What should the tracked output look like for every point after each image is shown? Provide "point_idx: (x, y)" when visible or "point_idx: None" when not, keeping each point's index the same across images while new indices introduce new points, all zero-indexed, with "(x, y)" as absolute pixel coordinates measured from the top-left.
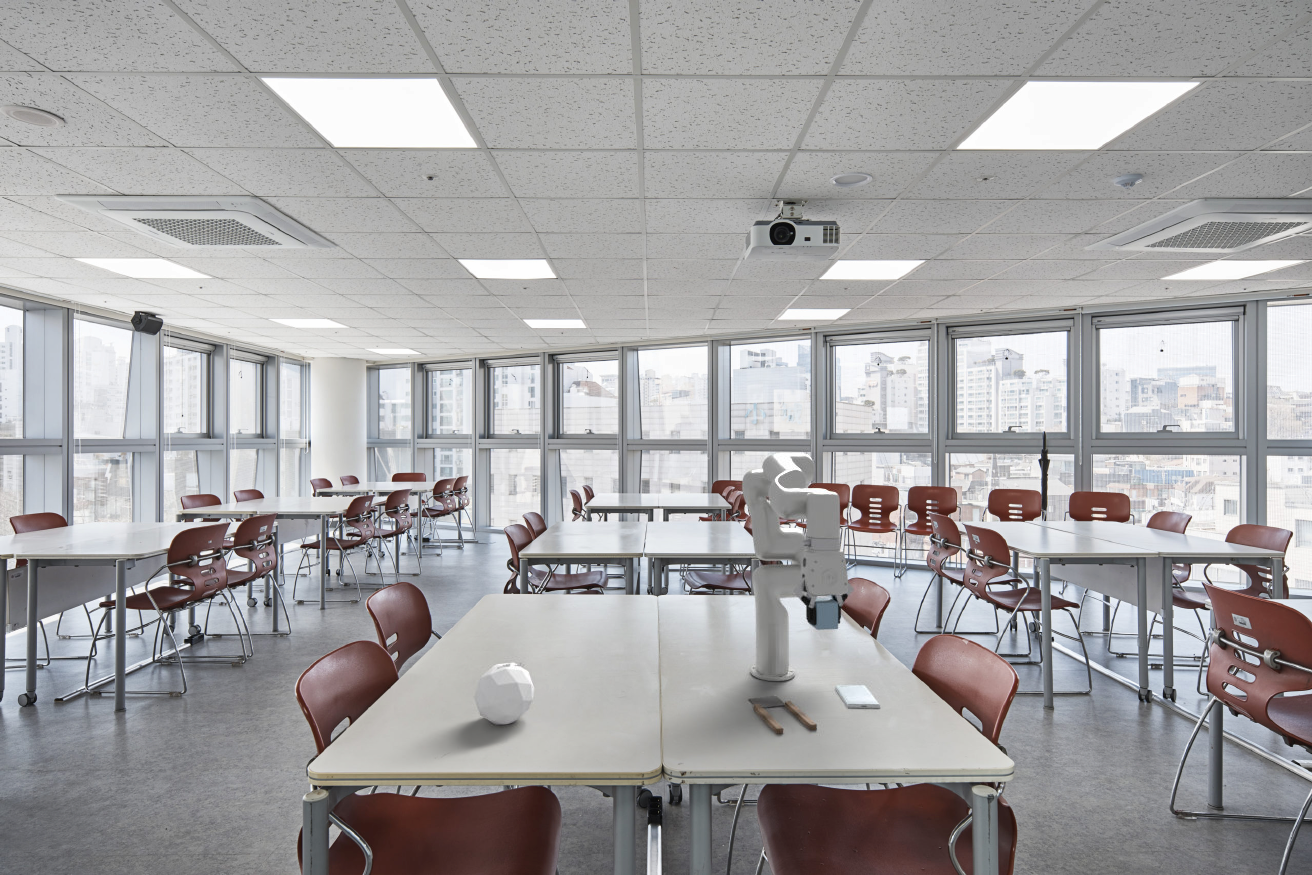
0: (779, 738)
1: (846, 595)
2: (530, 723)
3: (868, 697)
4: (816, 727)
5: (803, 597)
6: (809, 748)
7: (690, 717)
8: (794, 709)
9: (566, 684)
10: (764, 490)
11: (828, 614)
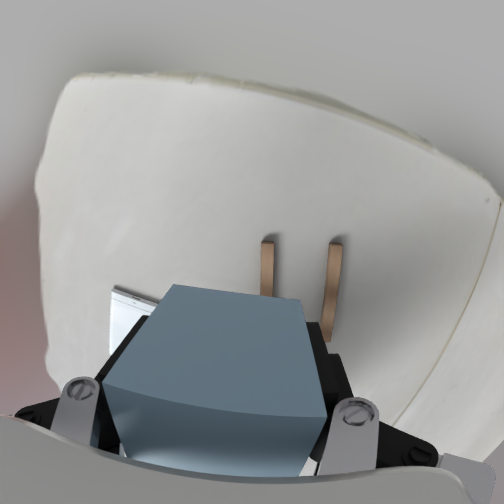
0: (344, 226)
1: (20, 418)
2: None
3: (118, 317)
4: (261, 242)
5: (433, 460)
6: (312, 177)
7: (426, 326)
8: None
9: (472, 411)
10: None
11: (217, 339)
